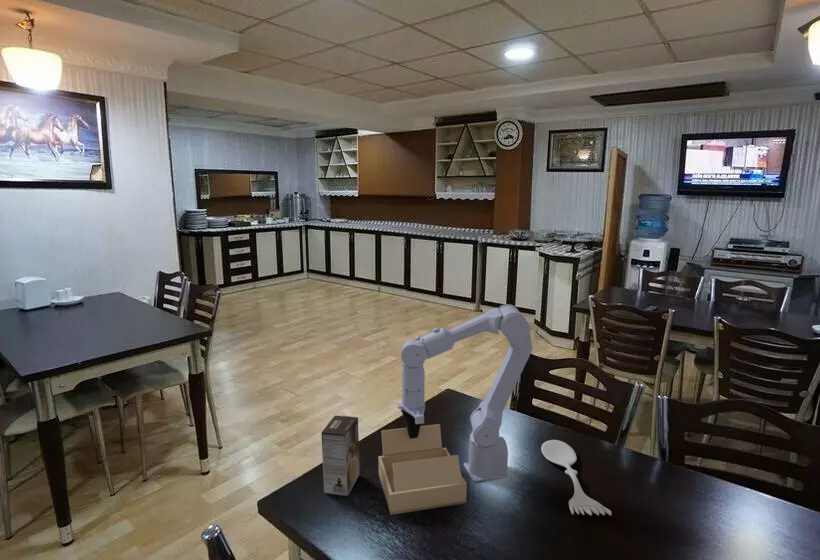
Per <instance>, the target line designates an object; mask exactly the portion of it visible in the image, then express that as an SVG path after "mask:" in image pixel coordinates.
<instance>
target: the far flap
mask: <svg viewBox="0 0 820 560" xmlns="http://www.w3.org/2000/svg"><path fill="white" fill-rule="evenodd" d="M380 432H381V445H382V447H381V448H382V456H385V455H393V454H401V453H409V452H417V451H425V450H433V449H441V448H443V444H442V435H441V434H442V432H441V424H440V423H439V424H438V423H437V424H427V425H421V427H420V431H419V435H418V438H413V439H410V438H409V435H408V431H407V427H403V428H401V427H400V428H393V429H385V430H381V431H380Z"/></svg>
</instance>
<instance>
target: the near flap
mask: <svg viewBox="0 0 820 560" xmlns="http://www.w3.org/2000/svg"><path fill="white" fill-rule="evenodd" d="M392 465H393V475H394V486H395V492H400V491H407V490H414V489H420V488H427V487H434V486H441V485H448V484H455V483H462V479H461V475H462V473H461V466H460V458H459V454H455V455H454V454H452V455H450V456H445V457H437V458H430V459H422V460H414V461H406V462H399V463H392Z"/></svg>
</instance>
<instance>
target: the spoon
mask: <svg viewBox="0 0 820 560" xmlns="http://www.w3.org/2000/svg"><path fill="white" fill-rule="evenodd" d="M540 447H541V448H540V449H541V453H542V455H543V457H545V458H546V459H547V460H548V461H550V462H551V463H553V464H556V465H557V466H560V467H564V468H566V469H565V471H564V473H565V474H566V475H568V476H569V477H570V479H571V480H572V483H573V488H574V490H573V491H574V494H573V496H572V497H570V499H569V500H568V507H569V510H570V513H571V515H572V516H573V515H574V514H575V513H576V514H577V515H580V514H581V515H583V516H585V513H586V514H587V515H588V516H592V515H593V514H595V515H596V516H600V514H601V515H602V516H605V515H606V514H607V515H609V516H610V517H611V516H612V515H613V514H612V510H610V509H609V508H607V507H606V506H604V505H603V504H601V502H598V501H597V500H595V499H593V498H591V497H589V496H588V495H587V494H586V493H585V492H584V490H583V488H582V486H581V484H580V482H579V479H578V477H577V475H578V471H577V470H575V469H573V468H572V467H571V466H572V465H574V464H575V463H576V462H577V459H578V458H577V454H576V452H575V450H574V448H572V447H571V445H569V444H567V443H566V442H564V441H562V440H558V439H550V440H547V441H546V440H545V442H543V443H542V444H541V446H540Z"/></svg>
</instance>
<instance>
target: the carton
mask: <svg viewBox="0 0 820 560" xmlns="http://www.w3.org/2000/svg"><path fill="white" fill-rule="evenodd" d="M445 456H451V453H449V451H448V449H447V447H442V448H437V449H429V450H421V451H413V452H405V453H397V454H389V455H380V456H379V455H378V457H377V458H378V476H379V480H380V483H381V487H382V491H383V494H384V498H385V501H386V505H387V509H388V512H389V515H390V516H391V515H398V514H404V513H411V512H412V513H413V512H418V511H424V510H430V509H436V508H442V507H443V508H444V507H450V506H457V505H462V504H467V489H468V486H467V485H468V483H467V482H466V479H465V478H464V476H463V475H462V474H461V479H462V483H455V484H448V485H441V486H434V487H427V488H420V489H414V490H407V491H400V492H395V486H394V475H393V465H392V463H399V462H406V461H414V460H422V459H430V458H437V457H445Z"/></svg>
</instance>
